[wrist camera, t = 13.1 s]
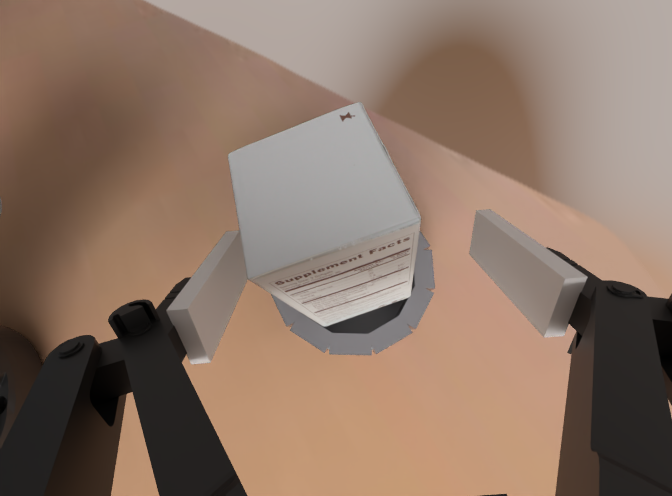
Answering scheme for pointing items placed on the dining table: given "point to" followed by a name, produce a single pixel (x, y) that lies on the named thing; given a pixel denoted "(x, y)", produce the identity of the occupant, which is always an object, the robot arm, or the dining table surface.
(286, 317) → the round holder
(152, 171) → the dining table surface
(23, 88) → the dining table surface
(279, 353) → the dining table surface
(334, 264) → the supplement box
